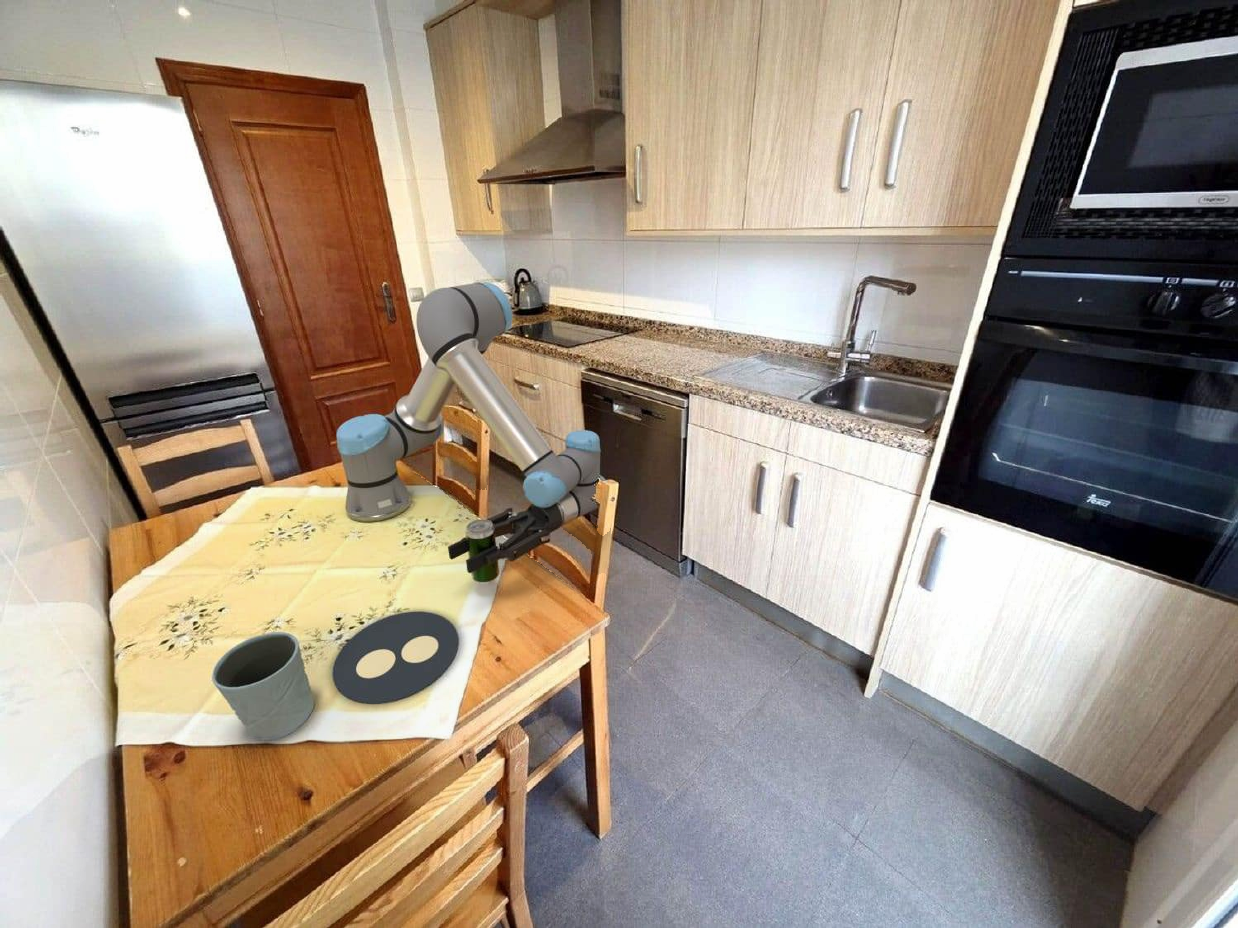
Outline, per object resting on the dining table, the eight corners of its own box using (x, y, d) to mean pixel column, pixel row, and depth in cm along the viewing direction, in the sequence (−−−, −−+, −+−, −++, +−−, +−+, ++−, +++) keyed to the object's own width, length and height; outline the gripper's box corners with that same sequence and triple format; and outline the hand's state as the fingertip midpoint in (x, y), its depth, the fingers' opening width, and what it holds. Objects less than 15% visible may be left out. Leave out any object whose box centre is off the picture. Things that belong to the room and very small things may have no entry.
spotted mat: (332, 634, 90) (332, 632, 90) (447, 600, 99) (446, 598, 98) (333, 723, 74) (332, 722, 74) (469, 674, 83) (469, 672, 82)
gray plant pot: (333, 701, 78) (314, 644, 72) (269, 759, 69) (242, 699, 64) (289, 679, 81) (267, 623, 76) (223, 731, 73) (194, 672, 68)
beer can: (477, 588, 97) (470, 537, 92) (468, 573, 101) (461, 523, 96) (503, 579, 100) (498, 528, 95) (493, 564, 104) (488, 515, 99)
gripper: (581, 543, 106) (489, 598, 90) (526, 511, 117) (435, 555, 101) (581, 513, 103) (485, 564, 87) (524, 483, 113) (429, 524, 98)
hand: (458, 559), depth 94 cm, fingers closed on beer can, 5 cm apart
